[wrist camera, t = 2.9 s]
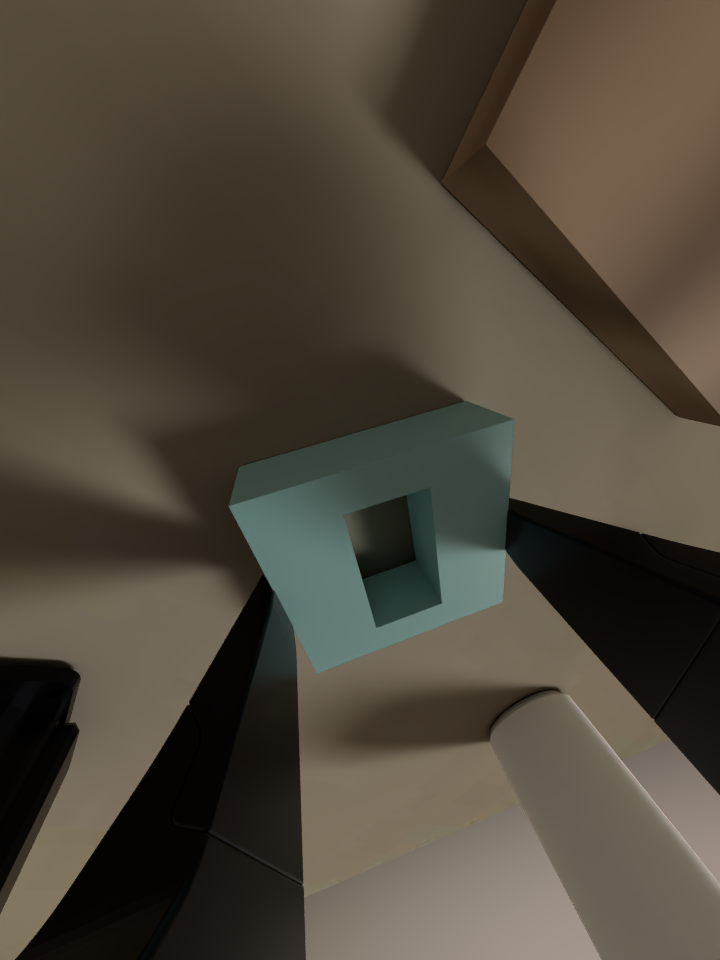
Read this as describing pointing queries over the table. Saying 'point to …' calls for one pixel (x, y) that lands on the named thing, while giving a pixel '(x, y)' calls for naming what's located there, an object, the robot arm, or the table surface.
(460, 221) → the table surface
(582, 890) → the can
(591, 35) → the post base
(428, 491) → the slotted plate
